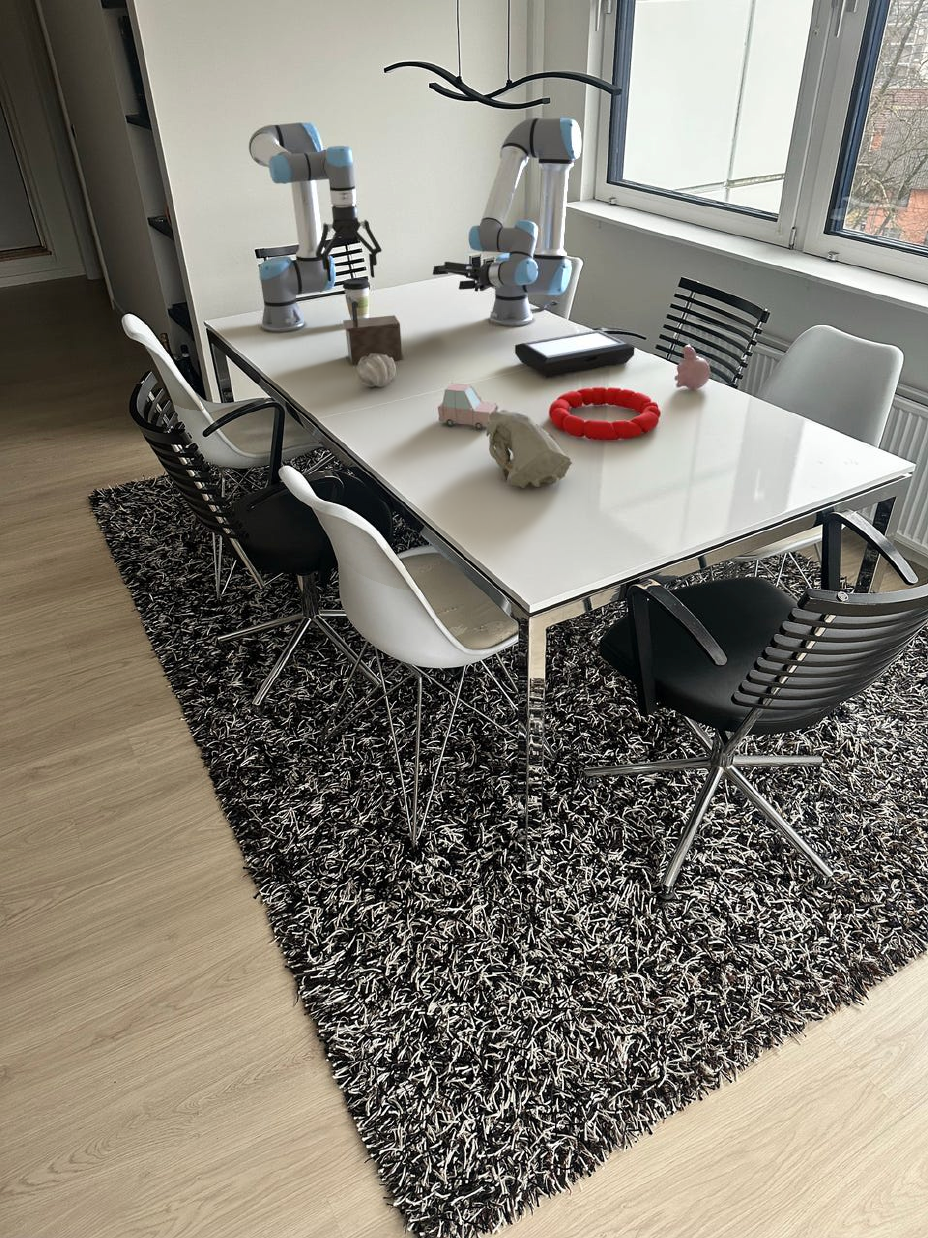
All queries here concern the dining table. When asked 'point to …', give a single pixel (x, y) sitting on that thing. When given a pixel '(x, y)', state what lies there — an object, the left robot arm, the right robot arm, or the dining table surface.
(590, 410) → the dining table surface
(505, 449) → the animal skull
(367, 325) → the panel with cylinder handle
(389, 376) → the seashell
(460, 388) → the toy car
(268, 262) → the left robot arm
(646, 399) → the decorative ring
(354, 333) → the chest
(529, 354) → the electronic device
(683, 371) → the figurine
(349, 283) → the coffee cup
